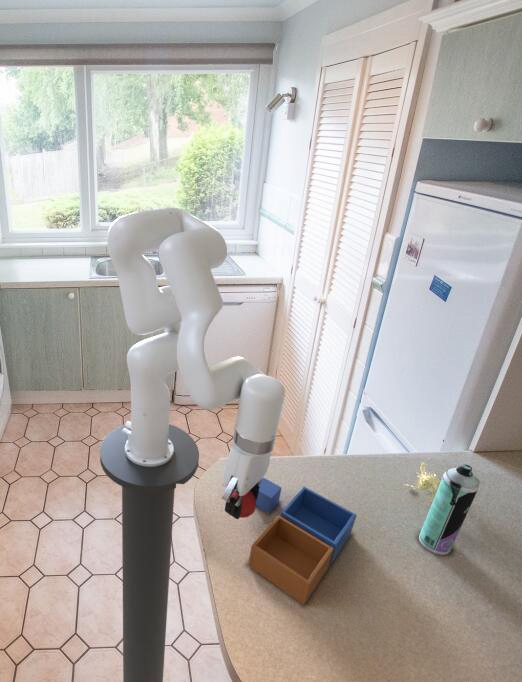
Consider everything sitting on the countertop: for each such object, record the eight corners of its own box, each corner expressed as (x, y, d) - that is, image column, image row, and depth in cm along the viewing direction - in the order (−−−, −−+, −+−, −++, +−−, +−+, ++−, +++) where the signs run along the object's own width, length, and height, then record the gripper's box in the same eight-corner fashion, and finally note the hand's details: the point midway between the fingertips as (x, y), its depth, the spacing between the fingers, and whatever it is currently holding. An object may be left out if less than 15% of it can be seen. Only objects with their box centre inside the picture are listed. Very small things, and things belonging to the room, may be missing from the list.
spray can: (451, 559, 88) (487, 481, 79) (418, 547, 91) (450, 470, 82) (449, 539, 92) (483, 463, 84) (418, 528, 95) (448, 453, 86)
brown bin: (248, 565, 87) (251, 545, 84) (274, 534, 93) (278, 514, 91) (303, 605, 80) (309, 584, 77) (328, 568, 86) (333, 548, 84)
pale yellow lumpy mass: (465, 517, 101) (487, 483, 99) (434, 520, 93) (457, 484, 91) (417, 483, 110) (436, 452, 108) (384, 484, 102) (404, 450, 100)
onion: (223, 503, 98) (228, 475, 94) (251, 505, 97) (256, 478, 93) (226, 525, 92) (231, 496, 89) (254, 528, 92) (261, 499, 88)
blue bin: (276, 531, 94) (280, 512, 92) (299, 505, 101) (303, 486, 98) (330, 565, 87) (336, 545, 84) (350, 534, 93) (356, 514, 91)
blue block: (250, 502, 101) (252, 487, 99) (260, 492, 104) (263, 477, 102) (268, 513, 98) (271, 498, 96) (278, 502, 101) (281, 487, 99)
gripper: (260, 409, 93) (247, 475, 101) (210, 449, 82) (201, 518, 90) (294, 426, 88) (277, 493, 97) (246, 470, 77) (233, 541, 86)
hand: (241, 505), depth 93 cm, fingers closed on onion, 5 cm apart
